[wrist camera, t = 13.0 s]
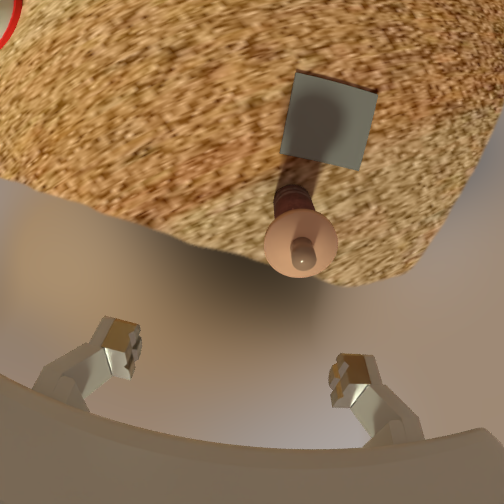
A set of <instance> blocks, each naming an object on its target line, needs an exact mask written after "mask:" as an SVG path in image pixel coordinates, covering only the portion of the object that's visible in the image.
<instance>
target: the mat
mask: <svg viewBox="0 0 504 504" xmlns="http://www.w3.org/2000/svg"><path fill="white" fill-rule="evenodd" d="M377 98H378V95H377V94H374V93H371V92H368V91H365V90H361V89H358V88H355V87H352V86H348V85H345V84H341V83H337V82H334V81H330V80H326V79H322V78H318V77H314V76H310V75H305V74H301V73H295V78H294V83H293V88H292V93H291V98H290V104H289V109H288V114H287V119H286V124H285V129H284V134H283V138H282V143H281V148H280V154H285V155H290V156H295V157H300V158H305V159H310V160H314V161H319V162H323V163H328V164H332V165H336V166H341V167H345V168H349V169H353V170H357V171H359V168H360V165H361V161H362V157H363V154H364V150H365V146H366V143H367V139H368V135H369V131H370V127H371V123H372V119H373V115H374V111H375V106H376V102H377Z"/></svg>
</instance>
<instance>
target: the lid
mask: <svg viewBox="0 0 504 504" xmlns="http://www.w3.org/2000/svg"><path fill="white" fill-rule="evenodd" d="M337 249H338V238H337V234H336V232H335V229H334V227H333V225H332V223H331V222H330V221H329V220H328V219H327V218H326V217H325V216H324V215H322V214H321V213H319V212H317V211H314V210H310V209H294V210H290V211H287V212H285V213H283V214H281V215H280V216H278V217H277V218H276V219H275V220H274V221H273V222H272V223H271V224H270V225H269V227H268V229H267V231H266V234H265V238H264V251H265V255H266V258H267V260H268V262H269V263H270V265H271V266H272V267H273V268H274V269H275V270H276V271H278V272H280V273H282V274H283V275H286V276H290V277H296V278H301V277H302V278H303V277H309V276H312V275H315V274H317V273H319V272H321V271H323V270H324V269H325V268H326V267H328V266H329V265H330V263H331V262H332V261H333V259H334V257H335V255H336V253H337Z"/></svg>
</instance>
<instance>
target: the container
mask: <svg viewBox="0 0 504 504" xmlns="http://www.w3.org/2000/svg"><path fill="white" fill-rule="evenodd" d="M21 9H22V0H0V49H1V48H2V47H3V46H4V45H5V44H6V42H7V41H8V40H9V39H10V37H11V35H12V33H13V32H14V30H15V28H16V25H17V23H18V20H19V18H20V14H21Z"/></svg>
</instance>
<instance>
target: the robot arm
mask: <svg viewBox="0 0 504 504" xmlns="http://www.w3.org/2000/svg"><path fill="white" fill-rule="evenodd" d="M140 331H141V330H140V325H139V324H136V323H132V322H128V321H124V320H120V319H117V318H112V317H108V316H104V317H103V318H102V320H101V322H100V324H99V325H98V327H97V329H96V331H95V333H94V335H93V336H92V338H91V340H90V342H89V343H84V344H82V345H81V346H79V347H77V348H76V349H74V350H72V351H70V352H69V353H67V354H65V355H64V356H62V357H60V358H58V359H57V360H55V361H53V362H51V363H50V364H48V365H46V366H44V367H43V369H42V371H41V373H40V375H39V377H38V378H37V380H36V382H35V384H34V386H33V388H32V389H30V388H28V387H26V386H23V385H21V384H19V383H17V382H15V381H13V380H11V379H9V378H7V377H6V376H3V375H2V374H0V504H504V448H503V446H502V444H501V442H500V441H499V440H498V439H497V438H495V437H494V436H493V435H492V434H491V433H490V432H489V431H488V430H486V429H485V428H476V429H472V430H468V431H464V432H460V433H456V434H452V435H447V436H442V437H438V438H432V439H427V440H425V438H424V435H423V431H422V428H421V424H420V421H419V417H418V416H417V415H416V414H415V413H414V412H413V411H412V410H411V409H410V408H409V407H408V406H407V405H406V404H405V403H404V402H403V401H402V400H401V399H400V398H399V397H397V395H395V394H394V393H393V392H392V391H391V390H390V389H389V388H388V387H387V386H386V385H383V384H382V380H381V377H380V374H379V371H378V367H377V364H376V361H375V357H374V356H373V355H361V354H344V353H340V354H339V355H338V356H337V358H336V361H337V363H336V364H334V365H332V367H331V369H330V372H329V379H328V381H329V386H330V388H331V389H332V390H333V391H332V393H331V402H332V407H333V408H334V407H335V408H350V409H351V411H352V412H353V414H354V415H355V416H356V418H357V419H358V420H359V421H360V423H361V424H362V426H363V427H364V428H365V430H366V431H367V432H368V434H369V435H370V436H371V438H372V439H371V440H370V441H368V442H367V443H366V444H365V445H364V446H363V448H348V449H316V450H315V449H314V450H313V449H312V450H311V449H277V448H262V447H250V446H239V445H231V444H222V443H215V442H208V441H202V440H196V439H190V438H185V437H179V436H175V435H170V434H165V433H160V432H156V431H152V430H148V429H144V428H139V427H135V426H132V425H128V424H125V423H121V422H118V421H114V420H111V419H108V418H104V417H101V416H99V415H95V414H92V413H90V411H89V409H88V407H87V405H86V403H85V401H84V399H85V398H86V397H87V396H89V395H90V394H91V393H92V392H94V391H95V390H96V389H97V388H99V387H100V386H101V385H102V384H103V383H105V382H106V381H107V380H108V379H110V378H111V377H112V376H116V377H120V378H124V379H128V380H131V378H132V376H133V373H134V370H135V363H134V362H135V361H136V360H138V359H139V356H140V353H141V348H142V339H141V337H140V336H139V333H140Z"/></svg>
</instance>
